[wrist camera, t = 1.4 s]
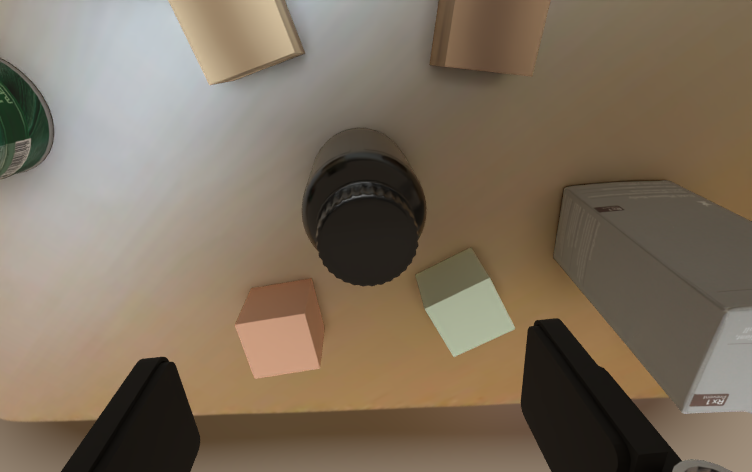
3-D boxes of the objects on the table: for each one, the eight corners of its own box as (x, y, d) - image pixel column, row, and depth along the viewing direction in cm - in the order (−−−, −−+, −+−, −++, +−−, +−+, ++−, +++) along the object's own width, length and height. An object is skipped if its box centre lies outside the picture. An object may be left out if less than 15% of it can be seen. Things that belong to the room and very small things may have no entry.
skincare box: (666, 177, 31) (946, 285, 16) (645, 261, 34) (866, 415, 19) (556, 183, 30) (740, 298, 16) (545, 267, 33) (691, 428, 19)
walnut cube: (520, -13, 25) (557, -29, 21) (502, 73, 27) (532, 76, 23) (441, -24, 25) (461, -42, 20) (429, 64, 27) (444, 66, 22)
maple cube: (272, -34, 24) (252, -55, 20) (305, 53, 26) (294, 52, 21) (196, -3, 25) (160, -17, 20) (234, 80, 27) (209, 85, 22)
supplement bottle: (352, 234, 31) (350, 329, 20) (294, 164, 29) (257, 230, 18) (426, 183, 30) (467, 255, 19) (371, 105, 27) (382, 136, 16)
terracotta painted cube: (311, 277, 33) (304, 313, 28) (324, 327, 35) (320, 368, 30) (251, 287, 33) (234, 324, 28) (267, 336, 35) (254, 378, 30)
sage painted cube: (470, 246, 32) (489, 277, 28) (494, 292, 34) (515, 328, 30) (415, 274, 33) (424, 309, 28) (440, 318, 35) (453, 357, 30)
